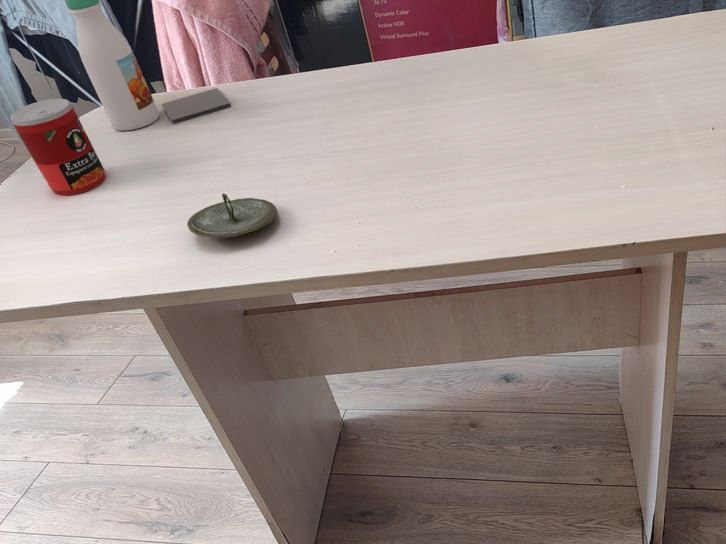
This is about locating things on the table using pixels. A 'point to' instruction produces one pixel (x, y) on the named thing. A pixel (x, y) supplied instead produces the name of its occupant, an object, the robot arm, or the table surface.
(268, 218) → the lid
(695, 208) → the table surface
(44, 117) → the canned food
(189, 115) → the coaster
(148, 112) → the milk bottle
